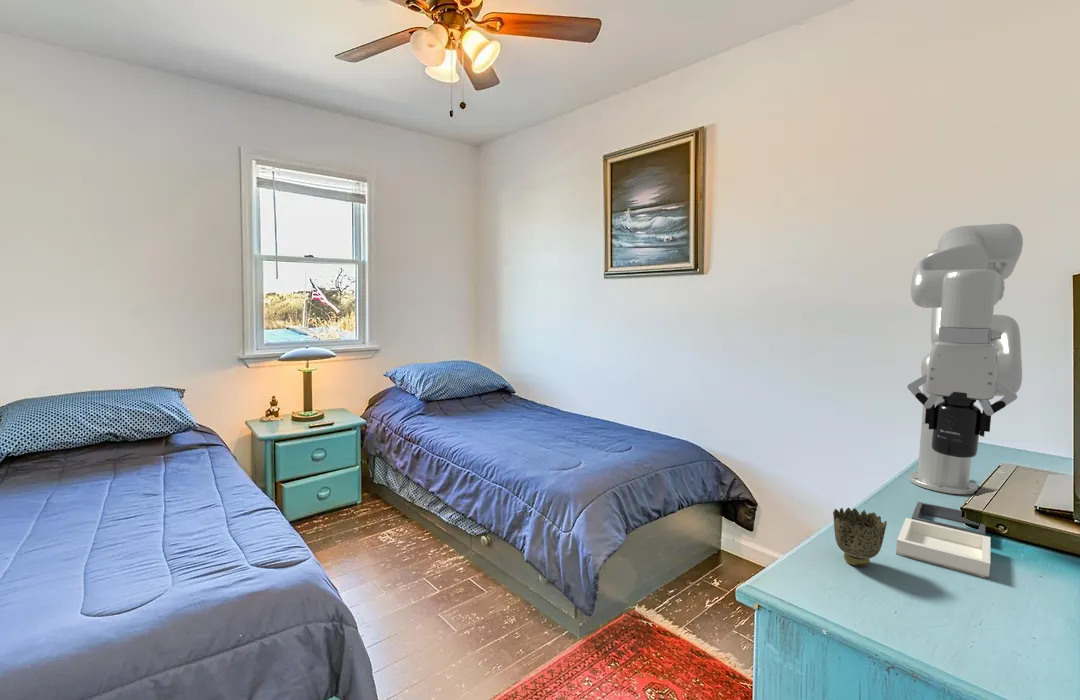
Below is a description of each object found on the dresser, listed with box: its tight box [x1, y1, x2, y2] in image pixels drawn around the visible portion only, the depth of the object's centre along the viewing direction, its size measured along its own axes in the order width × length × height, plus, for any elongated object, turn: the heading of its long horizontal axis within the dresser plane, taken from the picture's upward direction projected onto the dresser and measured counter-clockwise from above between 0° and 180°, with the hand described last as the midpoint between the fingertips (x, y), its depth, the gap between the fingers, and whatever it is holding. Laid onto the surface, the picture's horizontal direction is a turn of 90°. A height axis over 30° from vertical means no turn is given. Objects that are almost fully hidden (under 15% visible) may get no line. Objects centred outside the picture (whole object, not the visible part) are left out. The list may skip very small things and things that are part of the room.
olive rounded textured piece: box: [832, 507, 888, 568], centre depth 85 cm, size 8×7×8 cm
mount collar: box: [911, 501, 986, 536], centre depth 99 cm, size 11×11×2 cm
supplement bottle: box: [931, 392, 982, 459], centre depth 98 cm, size 7×7×12 cm
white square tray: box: [895, 517, 992, 580], centre depth 89 cm, size 12×12×2 cm
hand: (956, 430), depth 98 cm, fingers closed on supplement bottle, 6 cm apart
